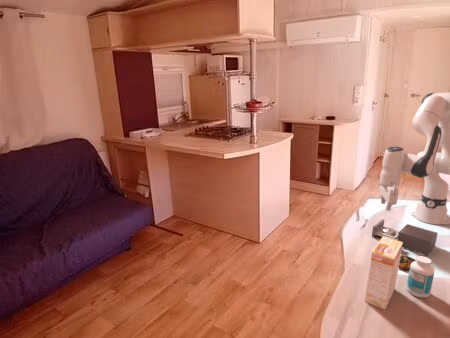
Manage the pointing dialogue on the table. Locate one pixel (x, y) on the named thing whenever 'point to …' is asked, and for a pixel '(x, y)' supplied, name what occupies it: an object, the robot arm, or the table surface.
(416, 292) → the pill bottle
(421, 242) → the block
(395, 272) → the coffeecake box
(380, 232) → the tray
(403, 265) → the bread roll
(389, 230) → the disc
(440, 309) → the table surface
